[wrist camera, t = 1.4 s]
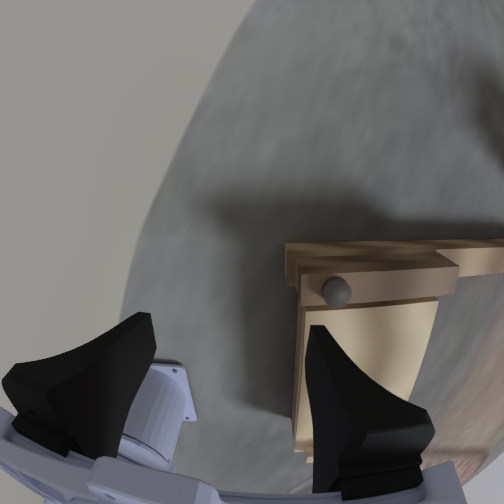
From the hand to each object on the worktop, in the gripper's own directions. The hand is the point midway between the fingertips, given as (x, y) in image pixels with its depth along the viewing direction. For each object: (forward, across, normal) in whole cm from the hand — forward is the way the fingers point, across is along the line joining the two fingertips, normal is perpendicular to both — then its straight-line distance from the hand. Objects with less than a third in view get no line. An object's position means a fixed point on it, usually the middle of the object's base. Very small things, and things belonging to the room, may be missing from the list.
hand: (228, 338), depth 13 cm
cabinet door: (+8, -9, 0) cm, 12 cm away
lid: (+7, -10, +10) cm, 15 cm away
